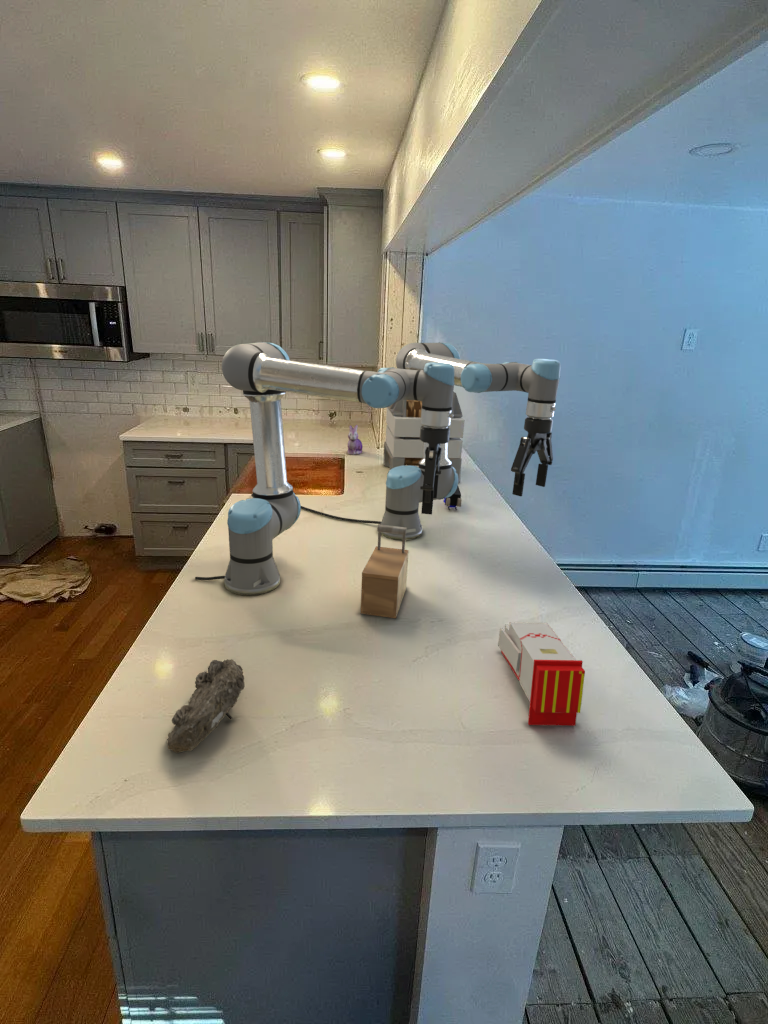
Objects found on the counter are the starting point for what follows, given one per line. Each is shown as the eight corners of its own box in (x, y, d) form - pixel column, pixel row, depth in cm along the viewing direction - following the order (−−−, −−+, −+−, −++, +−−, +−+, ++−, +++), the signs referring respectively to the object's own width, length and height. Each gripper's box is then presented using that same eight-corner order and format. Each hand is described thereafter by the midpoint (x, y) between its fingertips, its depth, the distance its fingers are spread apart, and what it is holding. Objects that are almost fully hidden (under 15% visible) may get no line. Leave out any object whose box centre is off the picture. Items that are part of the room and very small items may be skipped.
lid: (375, 549, 160) (376, 521, 157) (408, 553, 158) (410, 525, 155) (361, 576, 143) (362, 545, 140) (398, 580, 142) (399, 550, 139)
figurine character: (461, 515, 224) (456, 499, 237) (463, 498, 221) (458, 483, 234) (444, 515, 224) (440, 499, 237) (446, 497, 220) (442, 482, 234)
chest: (374, 584, 163) (375, 550, 159) (406, 588, 161) (408, 554, 158) (360, 613, 147) (361, 576, 143) (396, 618, 145) (398, 581, 142)
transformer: (382, 463, 289) (386, 382, 275) (445, 464, 293) (451, 384, 279) (390, 482, 257) (394, 392, 243) (460, 483, 261) (468, 394, 247)
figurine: (350, 455, 301) (351, 427, 296) (342, 451, 309) (343, 423, 304) (366, 454, 305) (367, 426, 300) (358, 449, 314) (359, 423, 309)
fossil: (192, 660, 117) (244, 628, 112) (224, 691, 120) (276, 661, 115) (142, 746, 98) (202, 712, 93) (182, 779, 101) (242, 748, 96)
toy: (544, 607, 134) (594, 667, 105) (539, 659, 137) (586, 732, 108) (493, 606, 134) (529, 666, 105) (489, 658, 137) (523, 731, 107)
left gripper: (446, 437, 131) (439, 522, 138) (453, 418, 154) (446, 492, 162) (414, 434, 132) (409, 519, 139) (425, 416, 155) (420, 490, 163)
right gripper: (529, 424, 145) (518, 502, 153) (571, 414, 163) (560, 485, 170) (504, 420, 150) (494, 495, 157) (547, 410, 168) (537, 479, 175)
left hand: (429, 505), depth 151 cm, fingers open, 13 cm apart
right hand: (529, 490), depth 164 cm, fingers open, 13 cm apart
